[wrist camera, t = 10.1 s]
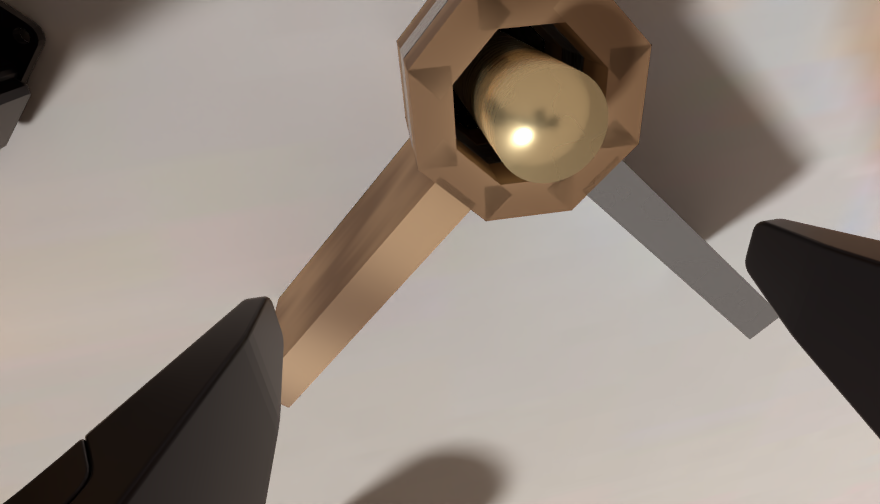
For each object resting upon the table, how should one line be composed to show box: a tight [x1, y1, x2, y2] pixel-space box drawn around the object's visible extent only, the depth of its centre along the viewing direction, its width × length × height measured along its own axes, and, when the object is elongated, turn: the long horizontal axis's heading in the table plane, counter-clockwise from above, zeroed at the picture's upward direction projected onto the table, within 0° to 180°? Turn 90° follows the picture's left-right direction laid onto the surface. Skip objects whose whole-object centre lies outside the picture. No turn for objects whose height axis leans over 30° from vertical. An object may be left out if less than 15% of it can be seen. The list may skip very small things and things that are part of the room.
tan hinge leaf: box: [275, 0, 652, 407], centre depth 19 cm, size 18×7×6 cm, turn 139°
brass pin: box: [452, 30, 608, 183], centre depth 16 cm, size 3×3×8 cm
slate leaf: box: [400, 0, 779, 339], centre depth 19 cm, size 18×7×6 cm, turn 49°
